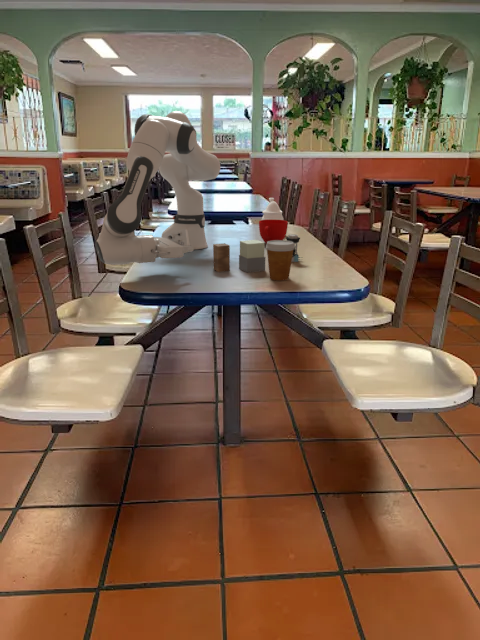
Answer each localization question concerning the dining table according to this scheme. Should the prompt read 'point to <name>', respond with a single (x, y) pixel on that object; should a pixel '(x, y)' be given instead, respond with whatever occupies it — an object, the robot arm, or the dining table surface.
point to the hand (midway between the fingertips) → (188, 246)
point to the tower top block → (252, 249)
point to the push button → (295, 240)
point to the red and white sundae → (272, 211)
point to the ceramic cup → (272, 229)
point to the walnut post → (221, 257)
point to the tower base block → (251, 264)
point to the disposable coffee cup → (279, 259)
